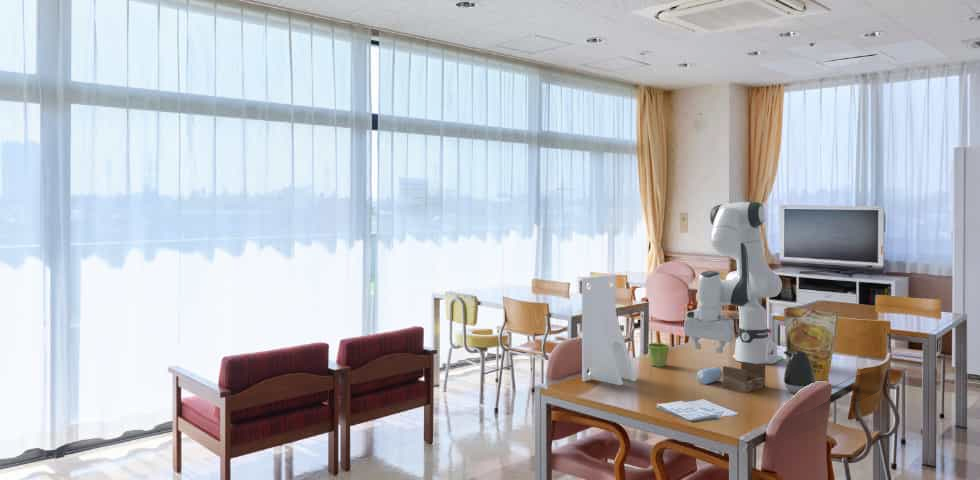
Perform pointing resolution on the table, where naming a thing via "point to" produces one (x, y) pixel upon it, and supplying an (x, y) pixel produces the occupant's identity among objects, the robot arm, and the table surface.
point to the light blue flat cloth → (696, 410)
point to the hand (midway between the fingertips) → (708, 350)
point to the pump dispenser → (798, 371)
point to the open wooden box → (744, 377)
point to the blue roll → (709, 375)
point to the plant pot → (658, 354)
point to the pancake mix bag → (812, 337)
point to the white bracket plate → (603, 333)
